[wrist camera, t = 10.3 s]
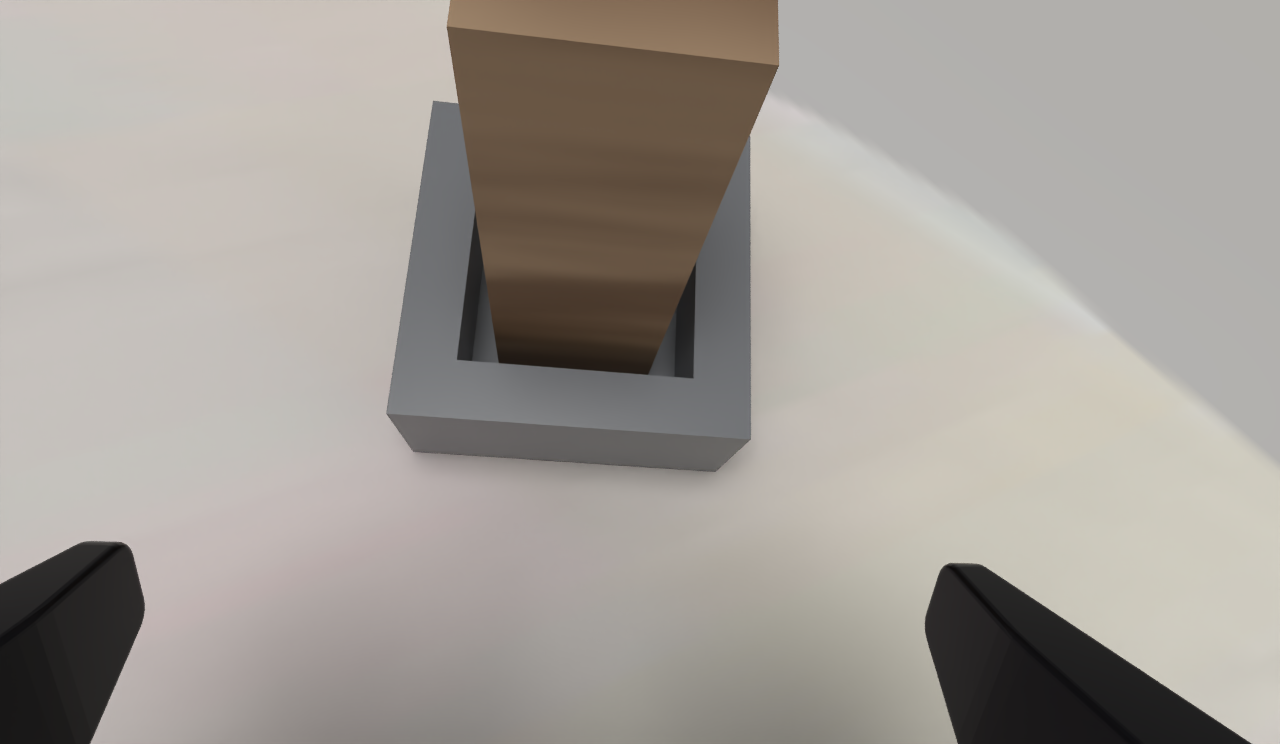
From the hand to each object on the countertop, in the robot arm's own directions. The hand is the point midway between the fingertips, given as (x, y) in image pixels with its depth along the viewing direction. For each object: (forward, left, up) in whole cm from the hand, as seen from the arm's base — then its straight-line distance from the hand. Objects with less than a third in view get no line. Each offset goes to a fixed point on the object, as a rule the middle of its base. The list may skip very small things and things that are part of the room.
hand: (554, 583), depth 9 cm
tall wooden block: (+6, -5, -12) cm, 14 cm away
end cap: (+6, -5, -13) cm, 15 cm away
